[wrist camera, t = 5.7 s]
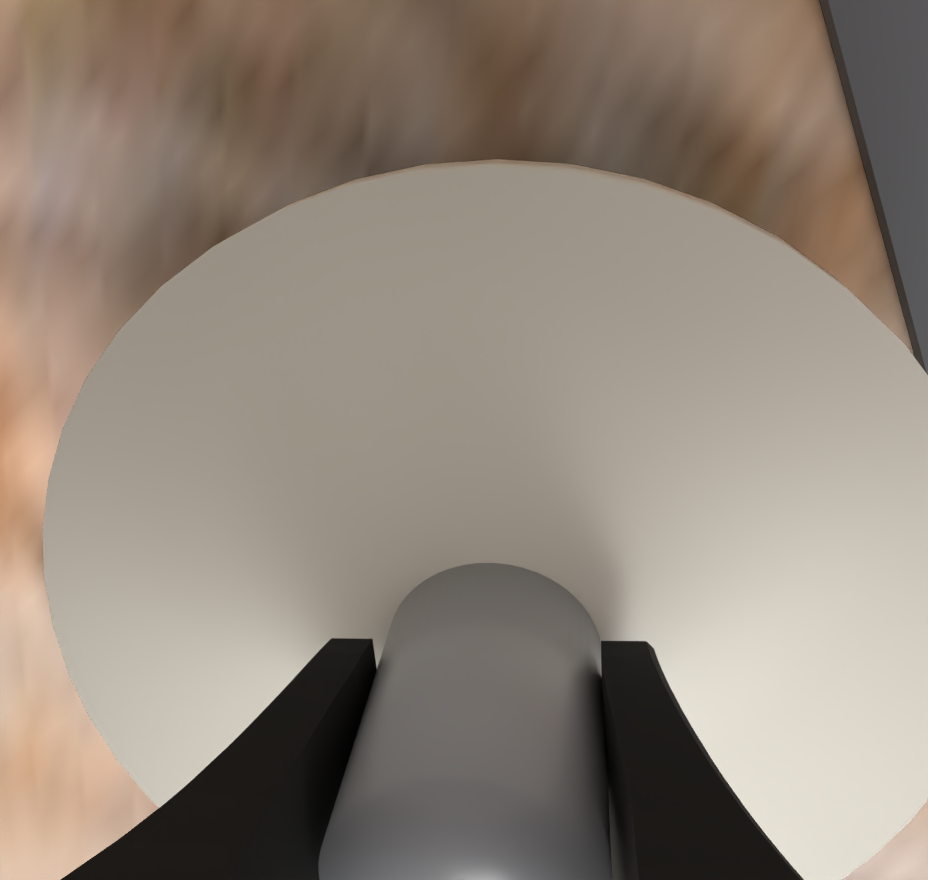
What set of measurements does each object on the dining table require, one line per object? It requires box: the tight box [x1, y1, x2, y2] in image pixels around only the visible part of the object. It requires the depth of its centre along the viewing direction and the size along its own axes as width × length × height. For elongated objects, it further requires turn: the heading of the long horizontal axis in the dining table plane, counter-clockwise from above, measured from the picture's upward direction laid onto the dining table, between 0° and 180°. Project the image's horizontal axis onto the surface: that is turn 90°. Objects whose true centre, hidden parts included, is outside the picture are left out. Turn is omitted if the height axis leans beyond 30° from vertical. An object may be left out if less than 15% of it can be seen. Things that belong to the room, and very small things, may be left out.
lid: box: [43, 159, 928, 880], centre depth 12 cm, size 14×14×5 cm
